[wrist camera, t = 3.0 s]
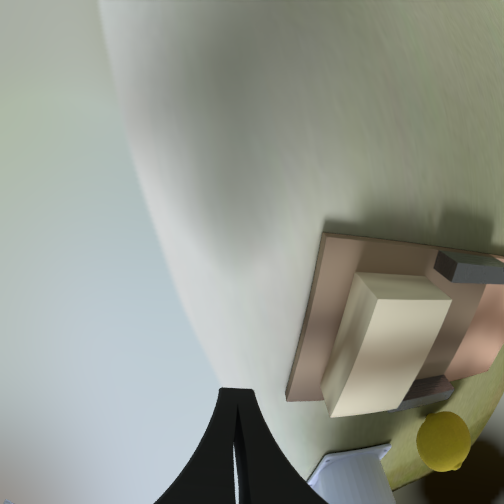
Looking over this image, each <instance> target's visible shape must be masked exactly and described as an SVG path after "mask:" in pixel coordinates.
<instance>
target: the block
mask: <svg viewBox="0 0 504 504" xmlns="http://www.w3.org/2000/svg"><path fill="white" fill-rule="evenodd" d="M451 302H452V299H451V298H450V297H448V296H447V295H446V294H445V293H444V292H443V291H442V290H440V289H439V288H438V287H437V286H436V285H435V284H433V283H432V282H431V281H430V280H429V279H427V278H426V277H425V276H412V275H396V274H381V273H366V272H355V274H354V278H353V281H352V285H351V289H350V293H349V296H348V300H347V303H346V307H345V310H344V314H343V317H342V320H341V324H340V327H339V330H338V333H337V337H336V340H335V343H334V346H333V349H332V352H331V355H330V358H329V361H328V364H327V366H326V369H325V372H324V375H323V378H322V380H321V383H320V387H321V390H322V393H323V396H324V400H325V403H326V406H327V409H328V412H329V416H330V418H333V417H343V416H352V415H360V414H367V413H374V412H380V411H386V410H392V409H397V408H398V406H399V405H400V403H401V402H402V400H403V398H404V397H405V395H406V393H407V392H408V390H409V388H410V387H411V385H412V383H413V381H414V380H415V378H416V376H417V374H418V373H419V371H420V369H421V367H422V365H423V363H424V361H425V359H426V357H427V355H428V353H429V351H430V349H431V347H432V345H433V343H434V341H435V339H436V337H437V335H438V333H439V330H440V328H441V326H442V324H443V321H444V319H445V317H446V314H447V312H448V309H449V307H450V304H451Z"/></svg>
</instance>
